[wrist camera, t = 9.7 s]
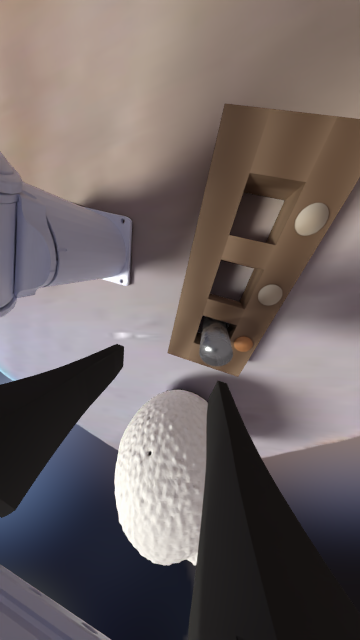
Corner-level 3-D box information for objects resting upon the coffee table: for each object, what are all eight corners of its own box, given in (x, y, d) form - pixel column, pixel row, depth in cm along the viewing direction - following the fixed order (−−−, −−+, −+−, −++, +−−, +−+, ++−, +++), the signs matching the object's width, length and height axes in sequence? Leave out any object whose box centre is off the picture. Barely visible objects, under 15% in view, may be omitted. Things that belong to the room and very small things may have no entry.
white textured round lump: (163, 347, 22) (74, 502, 8) (261, 392, 21) (359, 654, 7) (139, 408, 31) (78, 531, 17) (207, 441, 30) (203, 599, 16)
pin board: (173, 341, 21) (167, 354, 18) (221, 140, 11) (225, 100, 9) (234, 361, 20) (238, 378, 17) (346, 159, 10) (397, 119, 7)
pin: (201, 329, 19) (196, 361, 13) (206, 310, 18) (202, 336, 12) (222, 334, 19) (227, 369, 12) (228, 315, 17) (237, 344, 11)
